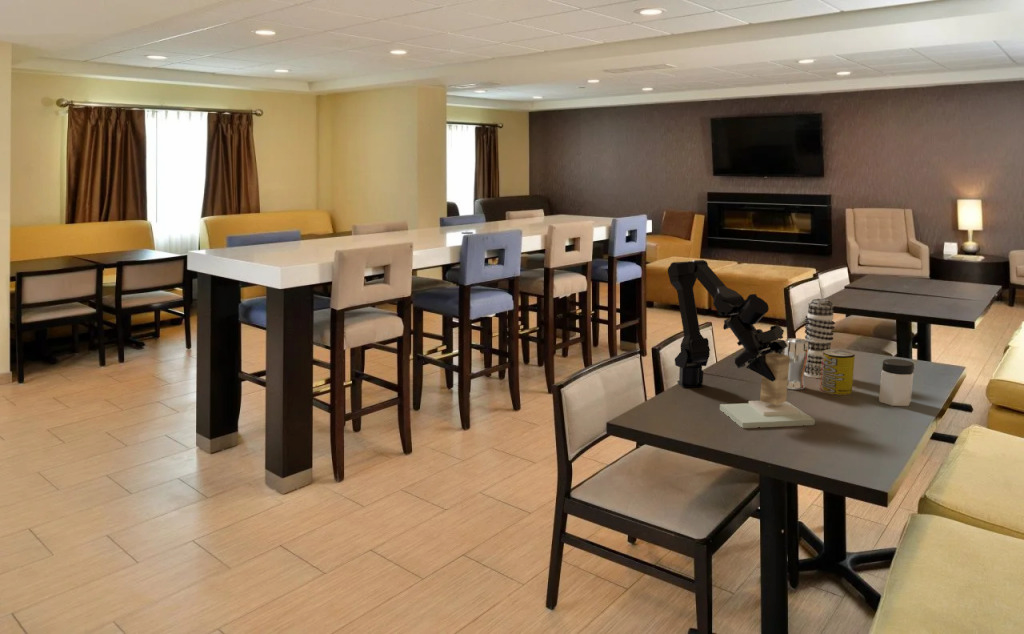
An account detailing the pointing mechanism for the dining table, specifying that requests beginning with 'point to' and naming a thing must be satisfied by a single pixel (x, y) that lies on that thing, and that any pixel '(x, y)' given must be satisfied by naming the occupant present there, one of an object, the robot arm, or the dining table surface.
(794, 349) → the beer glass
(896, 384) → the jar
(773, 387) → the pillar block
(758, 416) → the board
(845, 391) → the beverage can
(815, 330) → the decorative candle
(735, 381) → the dining table surface
